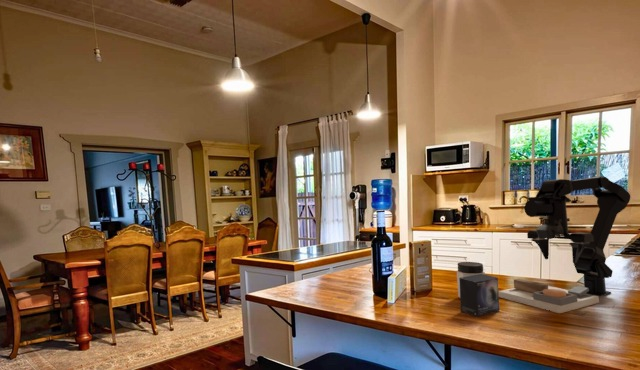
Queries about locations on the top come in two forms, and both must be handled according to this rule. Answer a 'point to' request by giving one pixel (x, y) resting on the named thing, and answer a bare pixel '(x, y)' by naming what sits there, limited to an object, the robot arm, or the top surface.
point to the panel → (549, 299)
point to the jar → (468, 271)
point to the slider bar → (529, 285)
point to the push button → (554, 293)
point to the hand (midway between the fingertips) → (560, 261)
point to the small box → (479, 294)
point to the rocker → (578, 290)
